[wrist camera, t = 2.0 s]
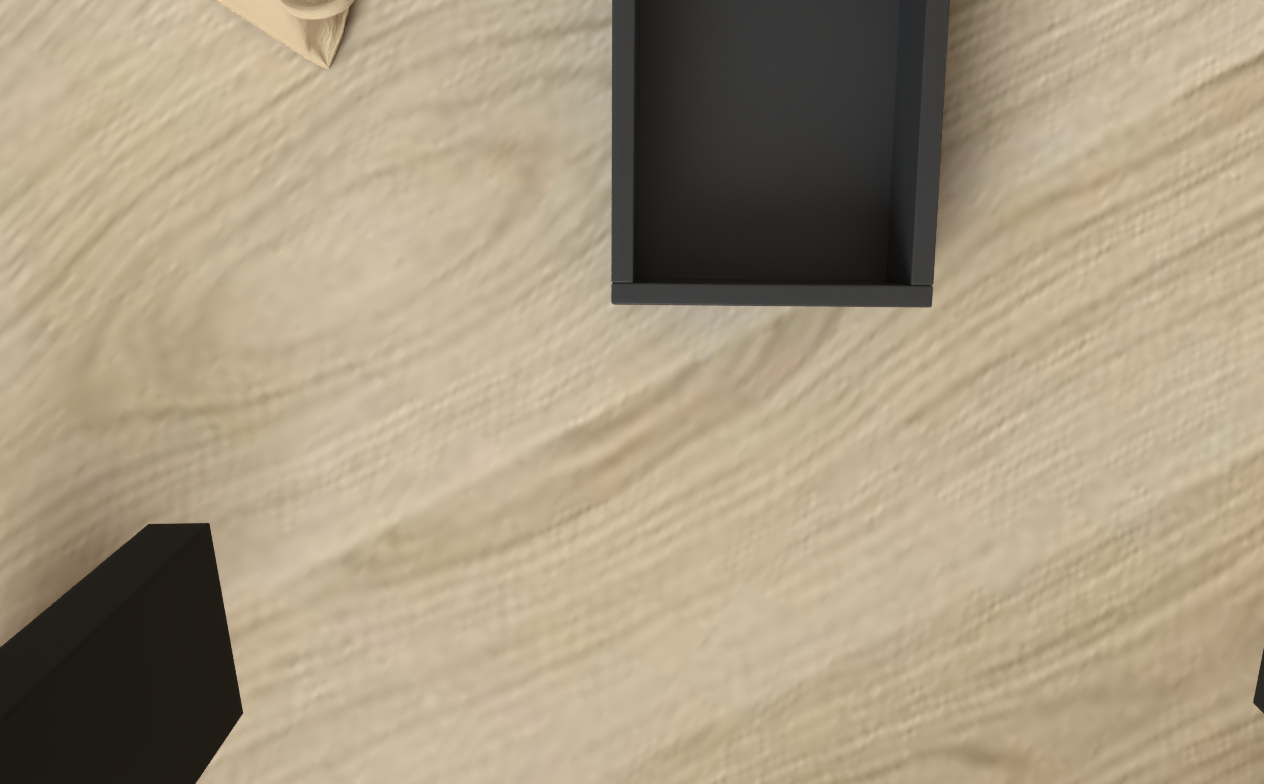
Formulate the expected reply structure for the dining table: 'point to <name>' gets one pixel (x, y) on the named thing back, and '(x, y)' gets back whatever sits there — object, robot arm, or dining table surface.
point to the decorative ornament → (299, 24)
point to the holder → (776, 151)
